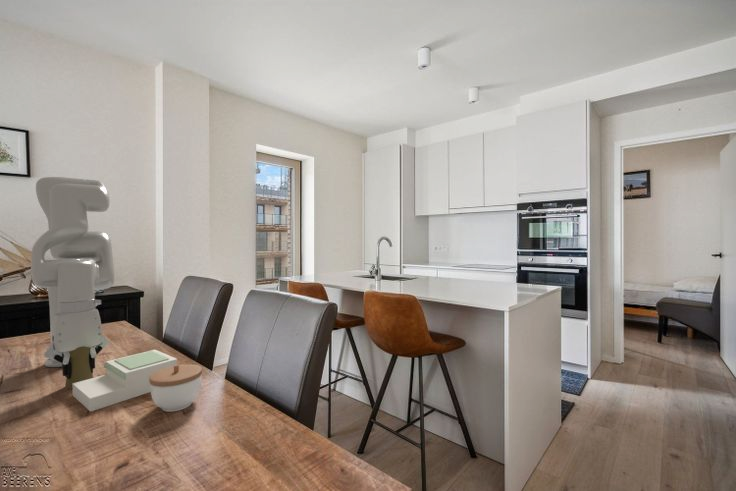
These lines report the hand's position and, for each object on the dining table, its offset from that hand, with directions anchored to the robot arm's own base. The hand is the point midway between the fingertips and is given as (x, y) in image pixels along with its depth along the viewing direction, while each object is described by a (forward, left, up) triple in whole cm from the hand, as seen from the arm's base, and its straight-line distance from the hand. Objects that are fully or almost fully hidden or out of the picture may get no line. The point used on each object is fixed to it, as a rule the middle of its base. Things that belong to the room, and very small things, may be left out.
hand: (79, 374), depth 93 cm
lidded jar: (+34, +10, -3) cm, 36 cm away
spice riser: (+14, +7, -3) cm, 16 cm away
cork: (0, 0, -3) cm, 3 cm away
